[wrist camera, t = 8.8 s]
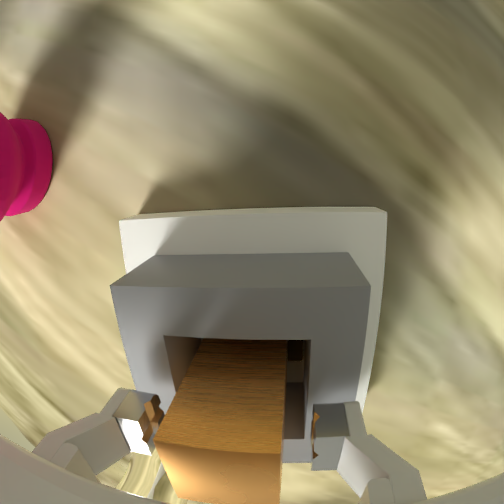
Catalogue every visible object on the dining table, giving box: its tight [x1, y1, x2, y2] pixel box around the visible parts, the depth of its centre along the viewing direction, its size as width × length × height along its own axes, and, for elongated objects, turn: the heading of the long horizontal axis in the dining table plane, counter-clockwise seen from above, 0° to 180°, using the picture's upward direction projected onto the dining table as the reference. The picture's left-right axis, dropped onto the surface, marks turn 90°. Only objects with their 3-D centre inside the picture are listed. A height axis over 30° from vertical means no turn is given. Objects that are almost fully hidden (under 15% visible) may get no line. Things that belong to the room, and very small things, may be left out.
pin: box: [153, 338, 288, 504], centre depth 11 cm, size 3×3×10 cm
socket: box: [110, 207, 387, 463], centre depth 13 cm, size 12×12×6 cm
